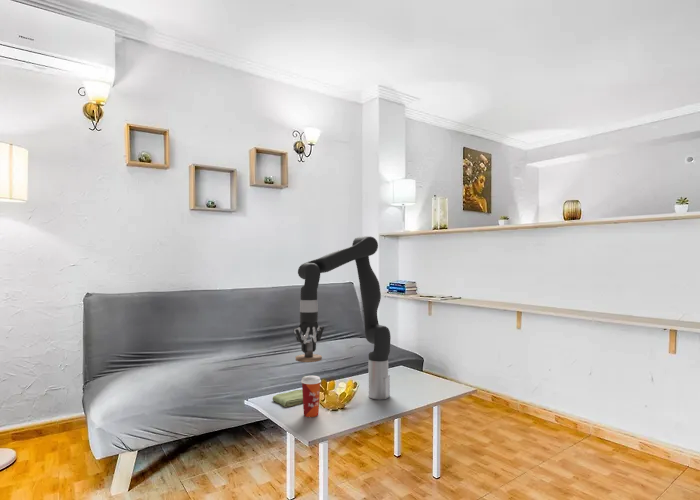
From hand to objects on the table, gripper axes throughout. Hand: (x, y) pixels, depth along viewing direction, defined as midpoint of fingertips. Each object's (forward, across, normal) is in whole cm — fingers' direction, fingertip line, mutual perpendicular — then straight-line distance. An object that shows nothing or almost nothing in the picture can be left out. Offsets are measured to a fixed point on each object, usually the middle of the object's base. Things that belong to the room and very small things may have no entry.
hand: (308, 351), depth 175 cm
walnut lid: (+3, 0, 0) cm, 3 cm away
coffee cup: (+25, 0, -3) cm, 26 cm away
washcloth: (+26, +2, +18) cm, 31 cm away
